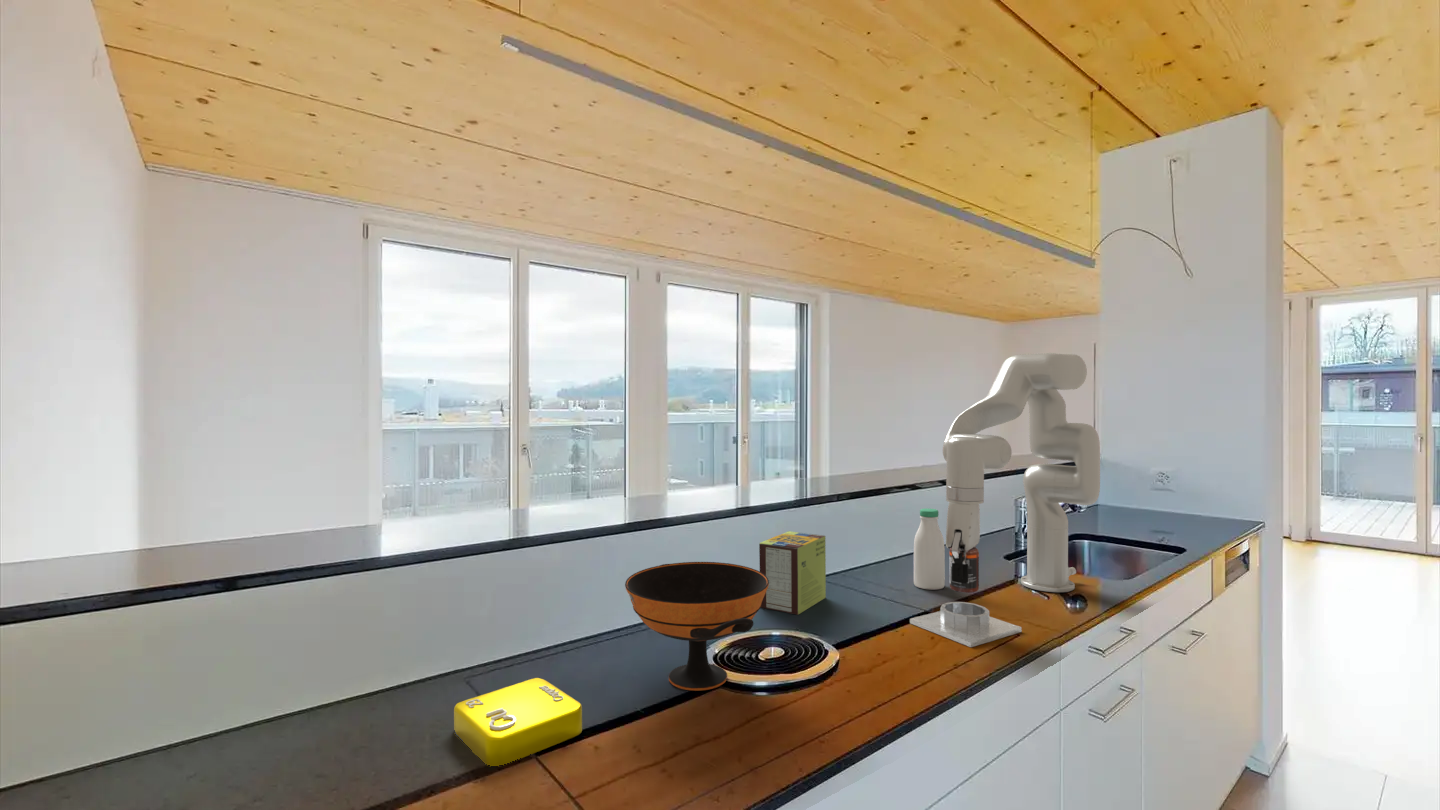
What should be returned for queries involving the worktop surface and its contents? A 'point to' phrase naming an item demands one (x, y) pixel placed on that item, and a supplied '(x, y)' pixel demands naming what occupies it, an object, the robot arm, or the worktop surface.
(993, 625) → the duct flange
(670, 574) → the greek kylix
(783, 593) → the protein box
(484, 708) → the element tile
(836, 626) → the worktop surface
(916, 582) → the milk bottle
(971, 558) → the supplement bottle
